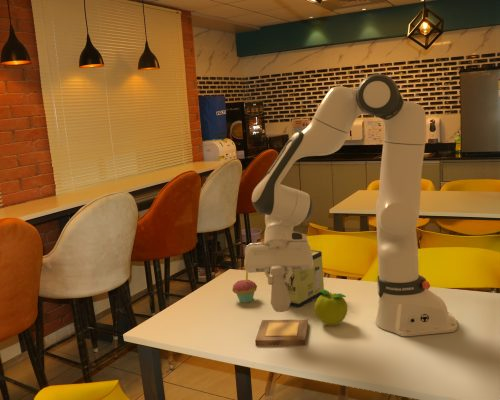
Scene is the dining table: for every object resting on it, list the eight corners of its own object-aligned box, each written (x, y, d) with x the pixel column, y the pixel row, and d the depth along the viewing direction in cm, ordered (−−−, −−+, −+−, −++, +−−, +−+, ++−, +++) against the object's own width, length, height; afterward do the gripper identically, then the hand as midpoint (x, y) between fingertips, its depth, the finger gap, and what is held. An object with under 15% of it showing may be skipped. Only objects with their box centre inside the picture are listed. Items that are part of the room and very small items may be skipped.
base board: (308, 324, 155) (307, 318, 155) (305, 345, 142) (305, 339, 141) (262, 324, 158) (262, 319, 158) (255, 345, 144) (255, 339, 144)
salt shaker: (280, 304, 153) (275, 262, 151) (295, 307, 149) (291, 264, 147) (267, 311, 148) (263, 267, 146) (282, 314, 144) (278, 270, 143)
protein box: (274, 302, 175) (270, 258, 172) (300, 288, 187) (297, 247, 184) (299, 308, 168) (295, 262, 166) (325, 293, 180) (322, 250, 177)
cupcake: (262, 297, 181) (259, 264, 179) (249, 306, 174) (246, 272, 172) (242, 294, 186) (239, 262, 184) (228, 302, 179) (225, 269, 177)
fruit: (328, 315, 161) (326, 284, 159) (353, 322, 154) (351, 290, 152) (309, 325, 154) (307, 293, 153) (335, 333, 148) (333, 300, 146)
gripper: (243, 238, 154) (240, 280, 146) (311, 234, 150) (312, 276, 142) (247, 248, 159) (245, 289, 151) (313, 244, 155) (314, 286, 147)
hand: (278, 283), depth 147 cm, fingers closed on salt shaker, 3 cm apart
